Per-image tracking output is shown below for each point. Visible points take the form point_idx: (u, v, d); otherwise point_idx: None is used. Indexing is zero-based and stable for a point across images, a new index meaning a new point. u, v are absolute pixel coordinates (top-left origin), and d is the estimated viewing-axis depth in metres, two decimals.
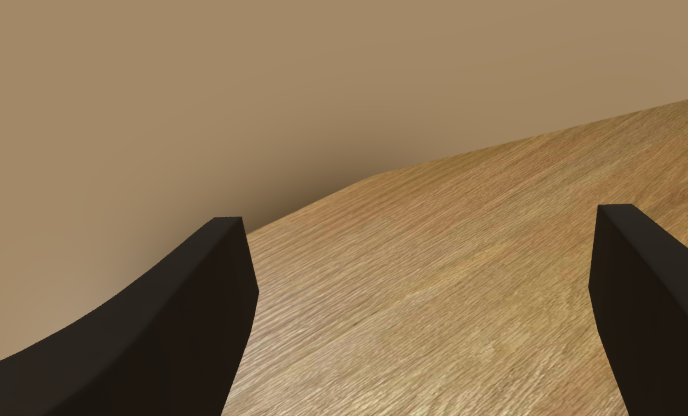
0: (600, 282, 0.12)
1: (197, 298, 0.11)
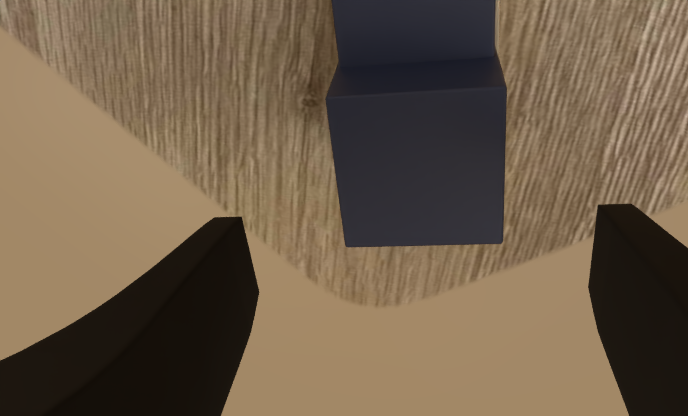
0: (600, 282, 0.12)
1: (197, 298, 0.11)
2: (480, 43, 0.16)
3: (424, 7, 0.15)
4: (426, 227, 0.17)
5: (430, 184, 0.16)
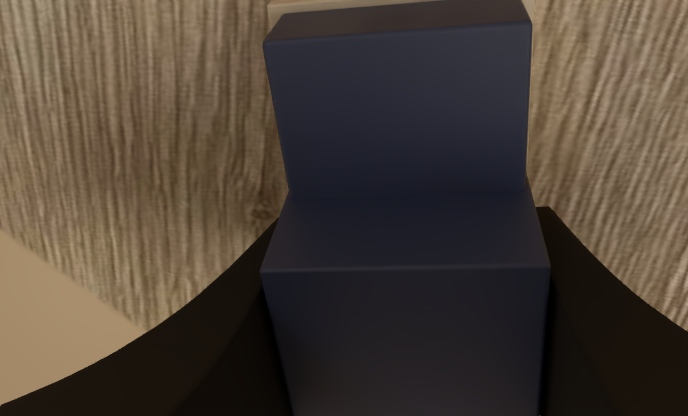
0: None
1: None
2: (503, 171, 0.10)
3: (417, 119, 0.10)
4: None
5: (426, 388, 0.10)
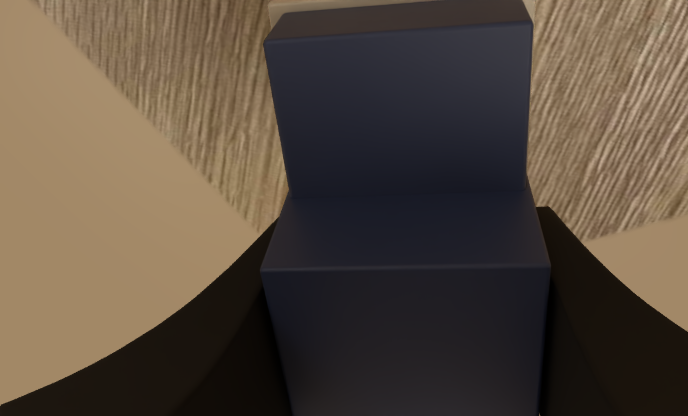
0: None
1: None
2: (504, 171, 0.10)
3: (417, 119, 0.10)
4: None
5: (426, 388, 0.10)
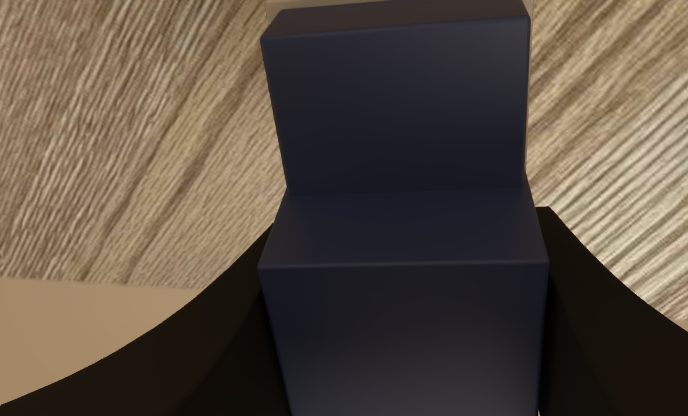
0: None
1: None
2: (502, 168, 0.10)
3: (415, 115, 0.10)
4: None
5: (425, 385, 0.10)
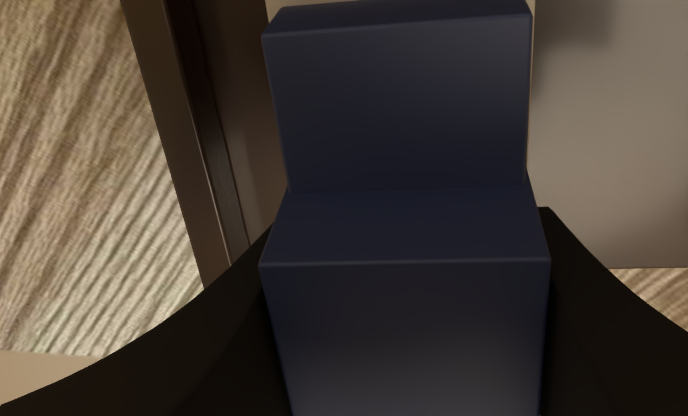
0: None
1: None
2: (504, 165, 0.10)
3: (416, 113, 0.10)
4: None
5: (426, 383, 0.10)
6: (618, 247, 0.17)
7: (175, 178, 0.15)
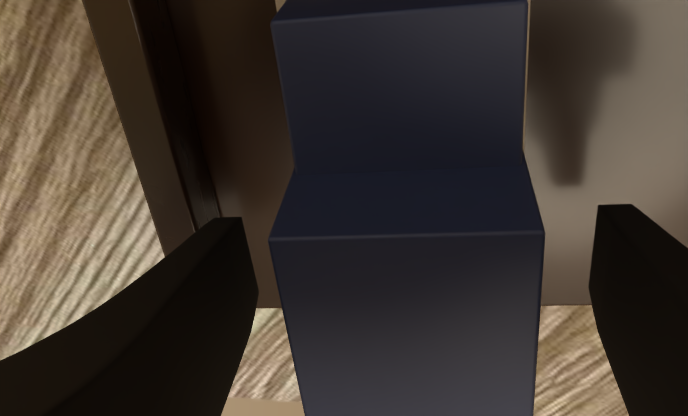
0: (600, 282, 0.12)
1: (197, 298, 0.11)
2: (501, 147, 0.11)
3: (418, 96, 0.10)
4: (421, 407, 0.11)
5: (427, 354, 0.11)
6: None
7: (153, 210, 0.14)
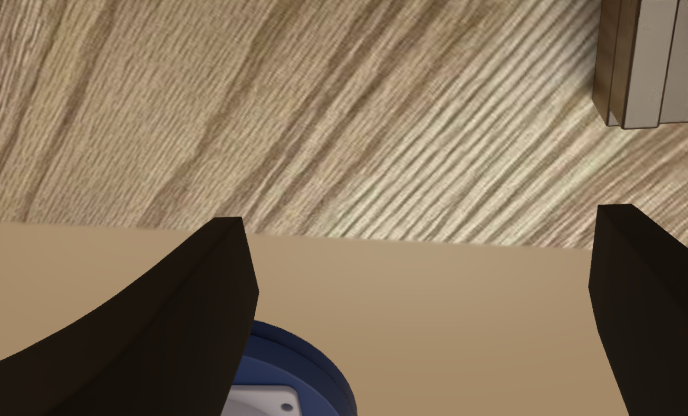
0: (600, 282, 0.12)
1: (197, 298, 0.11)
2: None
3: None
4: None
5: None
6: None
7: None
